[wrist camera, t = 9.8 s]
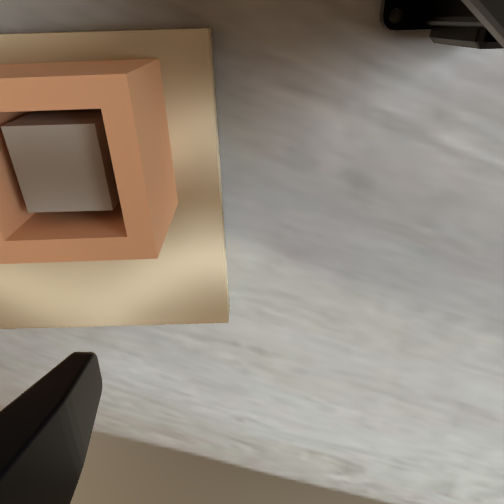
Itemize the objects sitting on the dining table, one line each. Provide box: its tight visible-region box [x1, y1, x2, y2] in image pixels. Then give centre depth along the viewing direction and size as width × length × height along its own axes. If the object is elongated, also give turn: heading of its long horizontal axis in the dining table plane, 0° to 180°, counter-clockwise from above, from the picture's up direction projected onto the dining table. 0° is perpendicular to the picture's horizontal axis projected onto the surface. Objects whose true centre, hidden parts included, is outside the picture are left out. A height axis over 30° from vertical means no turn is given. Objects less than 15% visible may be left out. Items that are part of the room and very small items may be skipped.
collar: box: [0, 59, 178, 264], centre depth 15 cm, size 6×6×5 cm
